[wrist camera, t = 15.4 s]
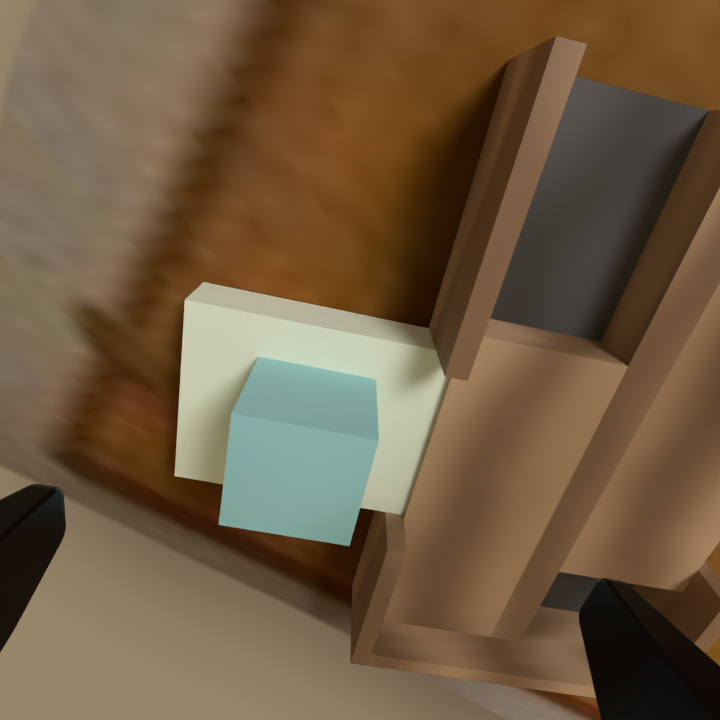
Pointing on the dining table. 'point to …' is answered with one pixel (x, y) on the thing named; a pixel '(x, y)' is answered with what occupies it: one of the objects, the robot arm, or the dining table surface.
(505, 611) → the box
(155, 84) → the dining table surface
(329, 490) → the block
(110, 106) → the dining table surface
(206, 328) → the board
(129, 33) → the dining table surface
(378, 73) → the dining table surface
